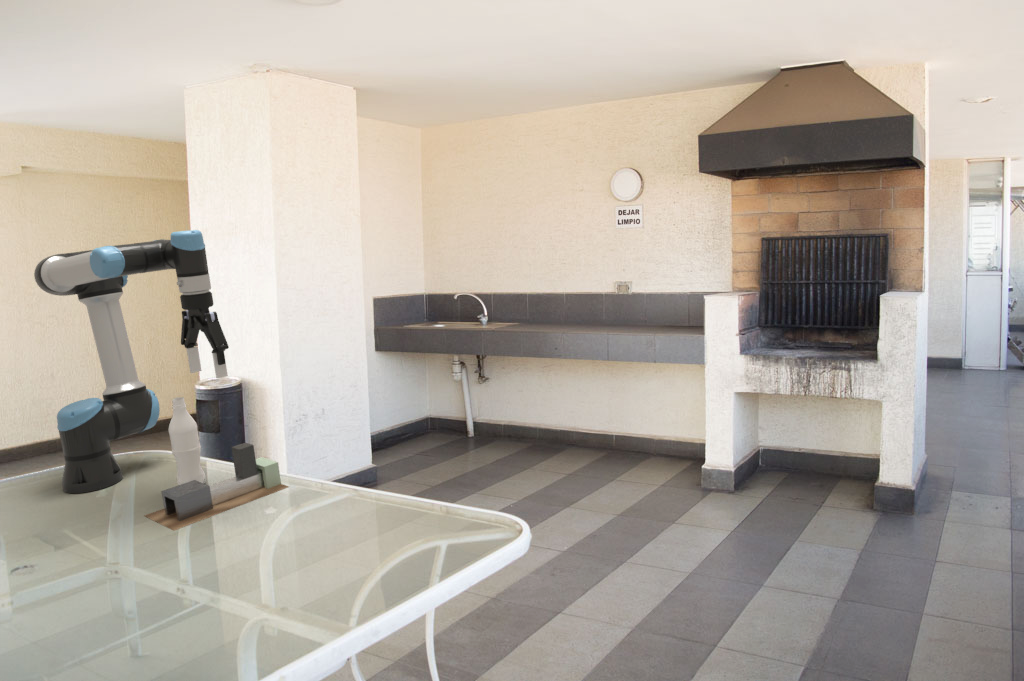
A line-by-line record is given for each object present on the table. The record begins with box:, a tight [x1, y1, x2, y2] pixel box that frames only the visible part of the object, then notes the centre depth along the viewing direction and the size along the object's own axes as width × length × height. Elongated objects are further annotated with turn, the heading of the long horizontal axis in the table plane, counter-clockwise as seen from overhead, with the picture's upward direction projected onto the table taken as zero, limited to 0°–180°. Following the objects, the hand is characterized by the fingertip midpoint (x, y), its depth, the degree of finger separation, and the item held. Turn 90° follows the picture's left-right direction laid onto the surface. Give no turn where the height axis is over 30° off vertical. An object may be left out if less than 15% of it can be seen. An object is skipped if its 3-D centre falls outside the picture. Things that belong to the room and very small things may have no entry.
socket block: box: [255, 456, 282, 489], centre depth 212 cm, size 8×4×6 cm, turn 48°
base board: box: [143, 483, 290, 531], centre depth 203 cm, size 16×31×1 cm, turn 138°
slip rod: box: [209, 442, 264, 505], centre depth 205 cm, size 4×21×12 cm, turn 138°
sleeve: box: [161, 480, 213, 521], centre depth 196 cm, size 8×8×6 cm
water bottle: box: [168, 396, 206, 486], centre depth 214 cm, size 7×7×25 cm
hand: (208, 374), depth 206 cm, fingers open, 13 cm apart
